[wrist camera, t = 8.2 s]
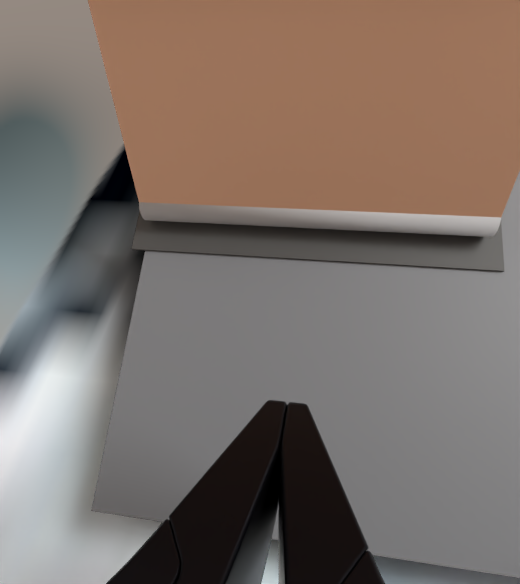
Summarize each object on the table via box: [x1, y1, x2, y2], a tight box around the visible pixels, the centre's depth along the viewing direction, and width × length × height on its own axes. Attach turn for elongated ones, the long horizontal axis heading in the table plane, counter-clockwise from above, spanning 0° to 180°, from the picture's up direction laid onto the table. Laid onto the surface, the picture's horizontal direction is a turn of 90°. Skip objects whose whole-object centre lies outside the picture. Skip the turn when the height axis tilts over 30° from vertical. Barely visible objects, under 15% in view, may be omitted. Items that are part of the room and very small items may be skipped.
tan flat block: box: [88, 0, 520, 237], centre depth 12 cm, size 2×12×9 cm
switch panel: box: [91, 171, 520, 578], centre depth 15 cm, size 16×22×3 cm
